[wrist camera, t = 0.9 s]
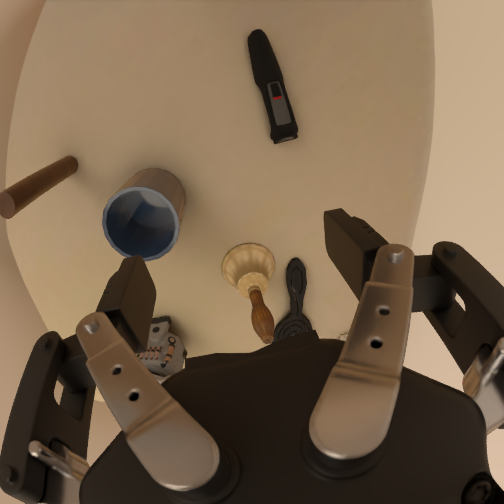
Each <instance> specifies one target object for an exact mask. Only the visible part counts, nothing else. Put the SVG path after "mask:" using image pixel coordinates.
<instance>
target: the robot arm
mask: <svg viewBox="0 0 504 504" xmlns="http://www.w3.org/2000/svg"><path fill="white" fill-rule="evenodd" d="M324 230H325V244H326V250H327V253H328V255H329V257H330V259H331V260H332V262H333V263H334V265H335V266H336V268H337V269H338V270H339V272H340V273H341V275H342V276H343V278H344V279H345V281H346V282H347V284H348V285H349V287H350V288H351V290H352V291H353V293H354V294H355V296H356V297H357V299H358V300H359V304H358V307H357V310H356V313H355V316H354V319H353V322H352V325H351V328H350V330H349V333H348V336H347V339H346V341H343V340H338V339H319V337H318V335H317V332H316V330H313V331H309V332H305V333H302V334H298V335H294V336H290V337H286V338H283V339H281V340H279V341H276V342H274V343H272V344H270V345H268V346H266V347H263V348H261V349H259V350H257V351H255V352H251V353H214V354H209V355H204V356H198V357H192V358H187V359H185V369H183V370H181V371H179V372H177V373H175V374H173V375H172V376H170V377H169V378H167V379H166V380H165V381H163V382H162V383H161V384H160V383H159V382H158V381H157V380H156V378H155V377H154V376H153V375H152V374H151V372H150V371H149V370H148V369H147V368H146V366H145V365H144V364H143V363H142V362H141V360H140V359H139V358H138V356H137V355H136V354H138V353H145V352H146V351H147V345H148V339H149V333H150V327H151V322H152V316H153V311H154V306H155V301H156V289H155V285H154V282H153V280H152V278H151V276H150V273H149V271H148V269H147V267H146V264H145V262H144V260H143V258H142V256H141V255H136V256H132V257H128V258H125V259H123V261H122V263H121V266H120V268H119V270H118V271H117V272H116V273H115V274H114V275H113V276H112V277H111V278H110V279H109V281H108V283H107V286H106V289H105V290H104V292H103V295H102V297H101V299H100V302H99V304H98V307H97V309H96V312H94V313H91V314H89V315H87V316H86V317H84V318H83V319H82V320H81V321H80V322H79V324H78V325H77V327H76V334H75V335H72V336H70V337H68V338H66V339H62V338H61V337H60V335H59V334H58V333H57V332H55V331H51V332H48V333H46V334H44V335H42V336H41V337H40V338H39V339H38V340H37V342H36V343H35V345H34V348H33V350H32V352H31V355H30V357H29V360H28V362H27V365H26V368H25V370H24V373H23V376H22V379H21V381H20V384H19V387H18V390H17V394H16V397H15V399H14V403H13V406H12V409H11V413H10V416H9V420H8V424H7V428H6V432H5V436H4V441H3V445H2V450H1V455H0V487H1V488H2V490H3V491H4V492H5V493H6V494H8V495H10V496H12V497H14V498H16V499H18V500H20V501H22V502H24V503H25V504H504V491H503V490H502V489H501V487H499V485H498V484H497V483H496V482H495V480H494V479H493V478H492V475H491V473H490V469H489V464H488V459H487V458H488V457H487V445H486V437H487V435H488V434H489V433H491V432H492V431H494V430H495V429H497V428H498V429H504V287H503V286H502V285H501V284H500V283H499V282H498V281H497V280H496V279H495V278H494V277H493V276H492V275H491V274H490V273H489V272H488V271H487V270H486V269H485V268H484V267H483V266H482V265H481V264H480V263H479V262H478V261H477V260H476V259H474V258H473V257H472V256H471V255H470V254H469V253H468V252H467V251H466V250H465V249H464V248H462V247H461V246H460V245H458V244H456V243H453V242H447V241H443V242H438V243H436V244H435V245H434V247H433V251H432V255H421V256H414V253H413V251H412V250H411V249H410V248H408V247H406V246H404V245H400V244H389V243H388V242H387V241H386V240H385V239H384V238H383V237H382V236H381V235H380V234H379V233H377V232H375V230H374V229H373V228H372V227H370V225H369V224H368V223H366V222H365V221H364V220H362V219H360V218H357V217H355V216H354V217H351V216H349V215H348V214H347V213H346V212H345V211H344V210H343V209H342V208H339V209H334V210H329V211H325V212H324ZM456 293H457V294H458V295H459V296H460V297H461V298H462V300H463V301H464V304H465V311H464V310H463V308H462V307H461V306H460V305H459V303H458V302H457V301H456V300H455V296H456ZM422 311H423V313H424V314H425V316H426V317H427V319H428V320H429V321H430V323H431V325H432V326H433V327H434V329H435V330H436V332H437V333H438V335H439V336H440V338H441V339H442V341H443V342H444V344H445V345H446V347H447V349H448V350H449V351H450V353H451V355H452V356H453V358H454V360H455V361H456V363H457V365H458V366H459V368H460V369H461V371H462V373H463V374H464V378H463V389H464V392H465V393H464V392H462V391H460V390H457V389H455V388H452V387H450V386H448V385H445V384H443V383H440V382H438V381H436V380H434V379H431V378H429V377H427V376H424V375H422V374H420V373H417V372H415V371H413V370H411V369H408V368H406V367H404V366H403V362H404V357H405V352H406V346H407V340H408V333H409V327H410V319H411V312H422ZM57 380H58V381H59V382H60V383H61V384H62V386H63V387H64V388H63V393H62V397H61V401H60V405H58V403H57V402H56V400H55V398H54V389H55V385H56V381H57ZM96 385H97V387H98V389H99V391H100V393H101V395H102V397H103V398H104V400H105V402H106V403H107V405H108V407H109V409H110V410H111V412H112V414H113V415H114V417H115V419H116V421H117V422H118V424H119V425H120V427H121V429H122V431H121V432H120V433H119V434H118V435H117V436H116V438H115V439H114V440H113V441H112V442H111V443H110V445H109V446H108V447H107V448H106V449H105V451H104V452H103V453H102V454H101V455H100V457H99V458H98V459H97V460H96V461H95V462H94V463H93V465H92V466H91V467H89V464H88V463H87V461H86V458H87V447H88V438H89V429H90V421H91V414H92V407H93V401H94V395H95V389H96Z"/></svg>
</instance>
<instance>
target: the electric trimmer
mask: <svg viewBox="0 0 504 504" xmlns="http://www.w3.org/2000/svg"><path fill="white" fill-rule="evenodd" d="M248 47H249V53H250V58H251V63H252V69H253V74H254V79H255V82H256V84H257V86H258V87H259V88H260V90H261V92H262V95H263V99H264V102H265V106H266V109H267V113H268V117H269V121H270V126H271V133H270V137H271V139H272V140H274V141H273V142H274V144H277V143H281V142H285V141H289V140H293V139H296V138H298V135H297V132H298V127H297V124H296V121H295V118H294V115H293V111H292V108H291V105H290V102H289V99H288V95H287V92H286V89H285V85H284V81H283V76H282V73H281V70H280V67H279V64H278V62H277V59H276V57H275V54H274V52H273V49H272V47H271V45H270V42H269V40H268V38H267V36H266V34H265V33H264V32H263V31H262V30H261V29H257V30H254V31H253V32H252V33H251V34H250V35H249V37H248Z"/></svg>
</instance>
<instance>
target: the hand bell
mask: <svg viewBox="0 0 504 504" xmlns="http://www.w3.org/2000/svg"><path fill="white" fill-rule="evenodd" d="M274 268H275V261H274V257H273V255H272V254H271V252H270V251H269V250H268V249H266V248H265V247H263V246H261V245H259V244H254V243H247V244H242V245H239V246H237V247H235V248H233V249H232V250H231V251H229V252H228V253H227V255H226V256H225V258H224V260H223V263H222V273H223V276H224V278H225V279H226V281H227V282H228V283H230V284H231V285H232V286H234V287H236V288H237V289H238V291H239V293H240V294H241V295H242V296H244V297H246V298H250V299H251V303H252V306H253V309H252V324H253V328H254V330H255V332H256V333H257V335H258V336H259V337H260V338H261V340H262V341H263V343H265V344H269V343H271V342H272V341H273V334H274V320H273V317H272V314H271V312H270V310H269V309H268V308H267V307H266V306H265V304H264V302H263V297H262V295H263V294H264V293H265V292H266V290H267V288H268V280H269V279H270V278H271V276H272V274H273V272H274Z"/></svg>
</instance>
